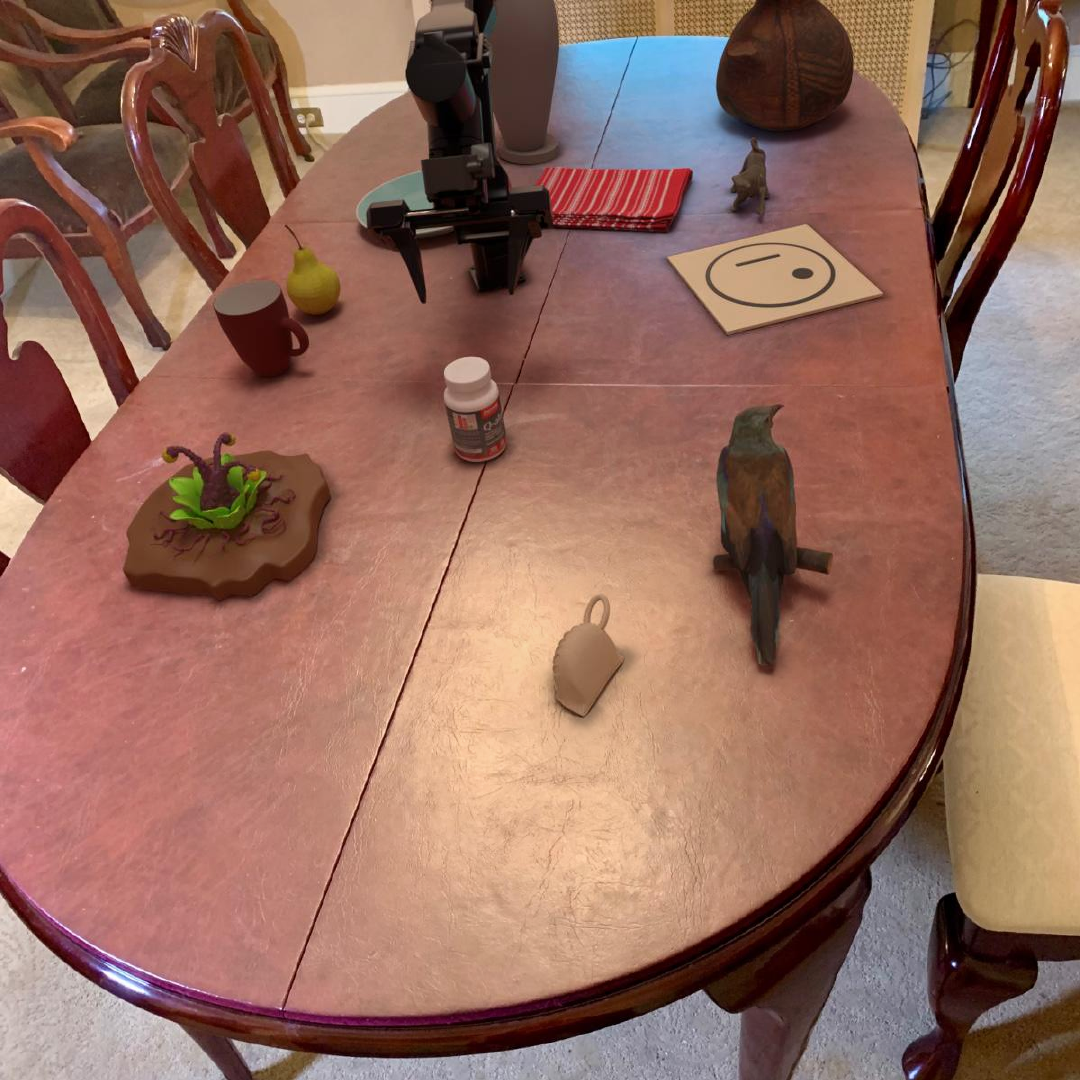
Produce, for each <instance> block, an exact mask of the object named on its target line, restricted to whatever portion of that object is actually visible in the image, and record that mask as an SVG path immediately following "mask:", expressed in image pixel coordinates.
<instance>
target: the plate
mask: <svg viewBox="0 0 1080 1080" xmlns="http://www.w3.org/2000/svg"><path fill="white" fill-rule="evenodd" d="M402 199H404V201H405V202H406V204H407V205H408V207H409V209H410V210H421V209H430V208H433V203H429V202H428V200H427V195H425V189H424V182H423V174H422V169H421V170H417V171H413V172H409V173H406V174H402V175H400V176H397V177H394V178H392V179H390V180H387V181H385V182H383V183H382V184H380V185H378V186H376V187H375V188H373V189H371V190H370V191H369V192H367V193H366V194H365V195H364V196H363V197H362V198H361V199H360V201H359V202H358V204H357V206H356V208H355V217H356V220H357V221H358V223H359V224H360V225H361V226H362V227H363V228H364V229H366V230H368V229H367V218H366V212H367V209H368V208H369V206H370V204H371V203H373V202H383V201H392V200H402ZM453 232H455V231H454V228H453V226H448V227H438V228H428V229H418V230H416V236H415V237H414V238H415V239H425V238H426V239H427V238H433V237H437V236H441V235H442V236H443V235H446V234H449V233H453Z"/></svg>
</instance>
